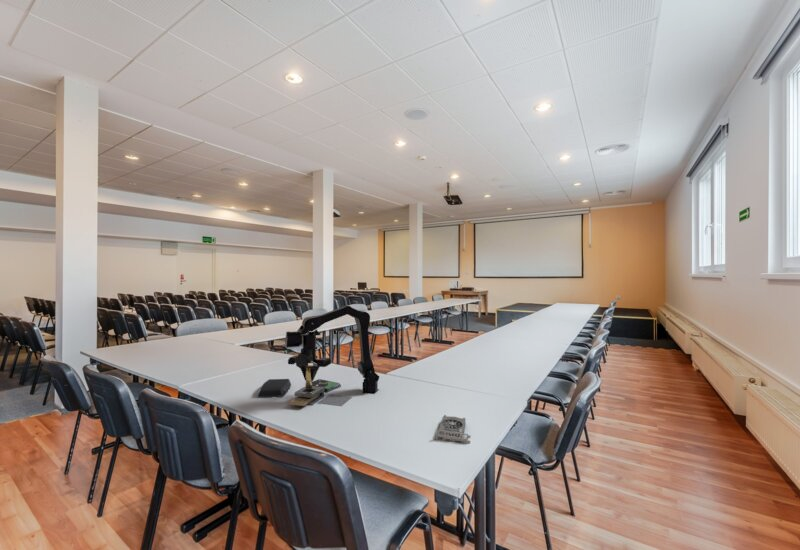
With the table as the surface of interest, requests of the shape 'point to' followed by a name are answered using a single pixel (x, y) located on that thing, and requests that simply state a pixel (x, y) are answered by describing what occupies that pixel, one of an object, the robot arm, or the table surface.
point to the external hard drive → (274, 388)
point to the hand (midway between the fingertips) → (309, 380)
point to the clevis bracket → (308, 396)
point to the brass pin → (308, 377)
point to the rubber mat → (335, 400)
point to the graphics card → (452, 430)
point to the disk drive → (326, 385)
